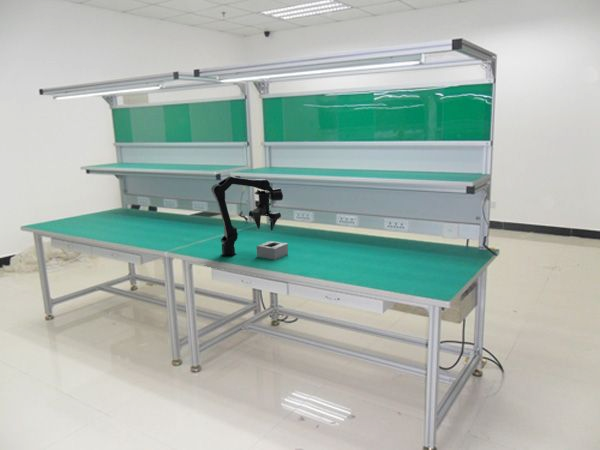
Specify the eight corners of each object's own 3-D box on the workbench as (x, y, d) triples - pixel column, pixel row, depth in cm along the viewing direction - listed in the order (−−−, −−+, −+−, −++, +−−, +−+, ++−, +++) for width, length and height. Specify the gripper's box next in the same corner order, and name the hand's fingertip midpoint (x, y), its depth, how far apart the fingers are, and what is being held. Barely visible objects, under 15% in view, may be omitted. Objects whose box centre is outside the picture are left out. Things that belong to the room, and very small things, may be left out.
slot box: (257, 256, 248) (256, 245, 247) (270, 251, 258) (270, 240, 257) (275, 259, 242) (274, 248, 241) (288, 254, 252) (287, 243, 250)
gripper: (241, 202, 254) (243, 230, 257) (268, 205, 243) (269, 234, 247) (254, 199, 263) (255, 226, 266) (281, 202, 252) (281, 230, 256)
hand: (265, 229), depth 258 cm, fingers open, 9 cm apart
